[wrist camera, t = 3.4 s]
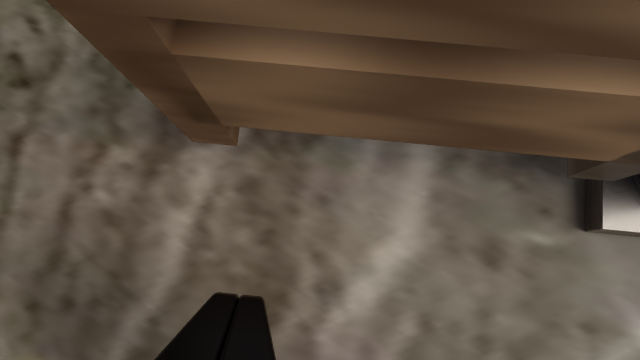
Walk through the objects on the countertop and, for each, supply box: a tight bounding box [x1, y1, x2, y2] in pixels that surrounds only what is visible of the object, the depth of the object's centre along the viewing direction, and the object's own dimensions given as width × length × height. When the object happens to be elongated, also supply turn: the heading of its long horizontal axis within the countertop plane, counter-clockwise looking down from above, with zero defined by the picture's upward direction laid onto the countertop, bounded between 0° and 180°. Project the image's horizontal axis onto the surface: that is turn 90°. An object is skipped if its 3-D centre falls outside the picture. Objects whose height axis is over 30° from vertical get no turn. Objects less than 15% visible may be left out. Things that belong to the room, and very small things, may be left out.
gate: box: [47, 0, 640, 181], centre depth 12 cm, size 14×1×11 cm, turn 84°
